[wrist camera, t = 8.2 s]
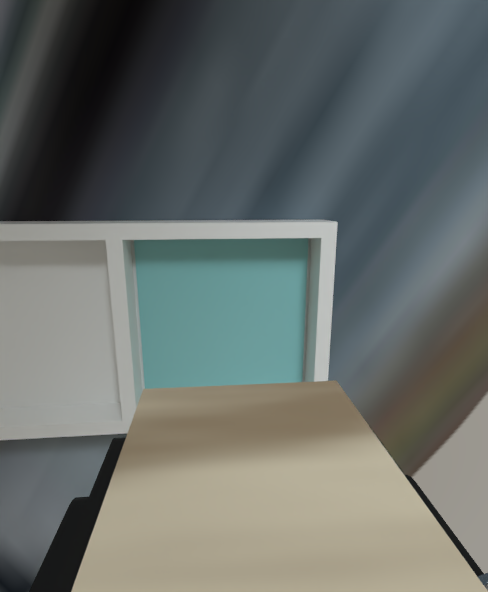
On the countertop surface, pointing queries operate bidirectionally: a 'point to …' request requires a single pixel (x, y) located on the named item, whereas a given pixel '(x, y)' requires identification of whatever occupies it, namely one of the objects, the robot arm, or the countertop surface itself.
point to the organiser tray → (154, 314)
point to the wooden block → (263, 500)
